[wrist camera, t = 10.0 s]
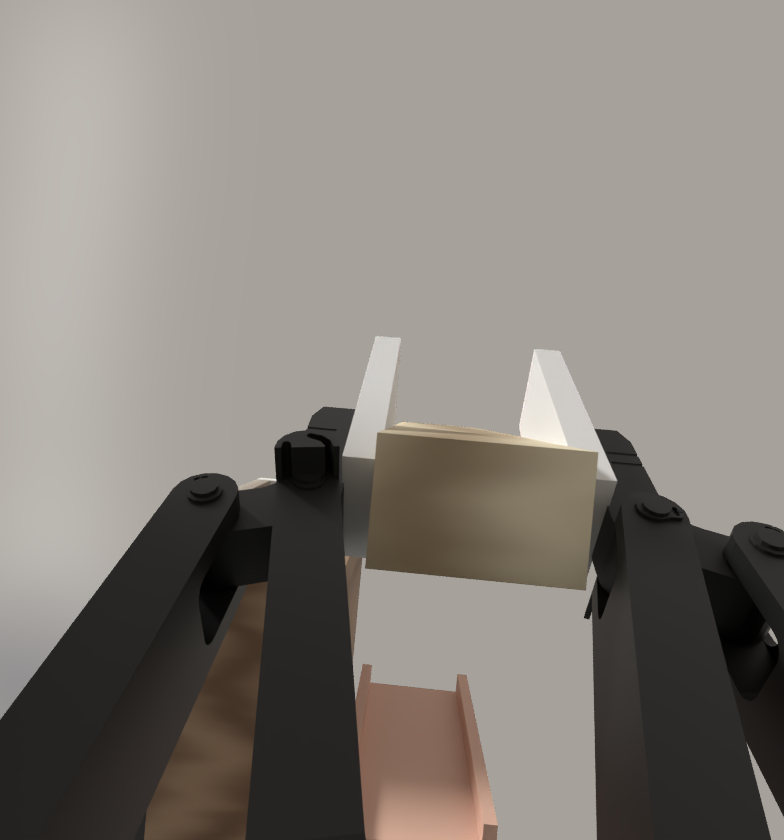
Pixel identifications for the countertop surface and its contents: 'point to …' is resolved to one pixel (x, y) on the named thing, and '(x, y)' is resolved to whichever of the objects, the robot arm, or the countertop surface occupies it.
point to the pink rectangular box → (421, 764)
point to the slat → (481, 506)
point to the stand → (223, 729)
